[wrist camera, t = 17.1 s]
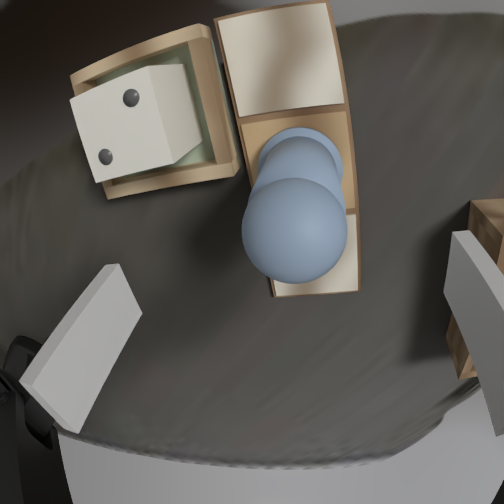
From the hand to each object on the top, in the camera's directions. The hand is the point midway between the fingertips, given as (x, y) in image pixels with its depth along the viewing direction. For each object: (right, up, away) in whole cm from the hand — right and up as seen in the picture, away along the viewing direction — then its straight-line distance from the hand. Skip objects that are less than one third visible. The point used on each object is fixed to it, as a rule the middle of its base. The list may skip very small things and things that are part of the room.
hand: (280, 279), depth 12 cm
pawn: (+3, +7, +11) cm, 13 cm away
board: (+3, +7, +11) cm, 14 cm away
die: (-8, +11, +10) cm, 17 cm away
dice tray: (-8, +12, +11) cm, 18 cm away
